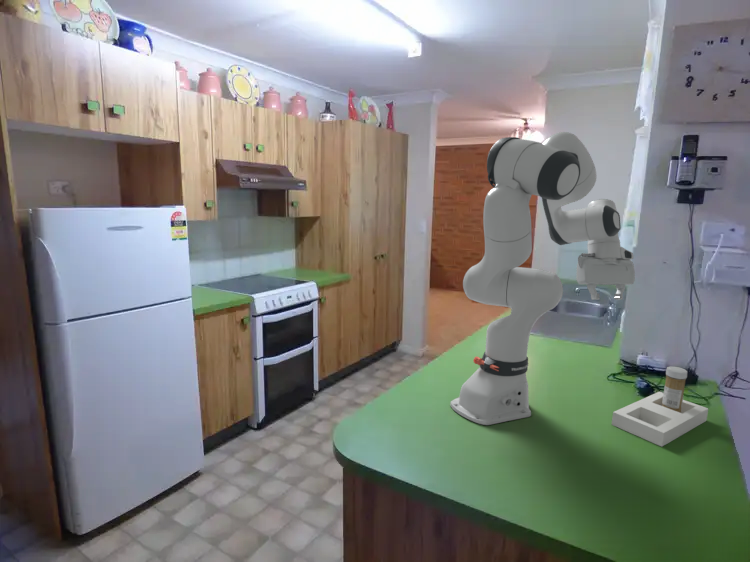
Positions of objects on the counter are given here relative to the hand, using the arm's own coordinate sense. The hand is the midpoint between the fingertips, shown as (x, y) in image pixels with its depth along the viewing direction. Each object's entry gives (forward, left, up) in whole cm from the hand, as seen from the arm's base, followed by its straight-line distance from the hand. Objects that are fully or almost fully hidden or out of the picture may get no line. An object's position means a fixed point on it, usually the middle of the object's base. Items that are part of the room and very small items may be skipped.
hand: (607, 299), depth 131 cm
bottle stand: (-8, -22, -28) cm, 36 cm away
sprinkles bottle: (-1, -21, -28) cm, 35 cm away
